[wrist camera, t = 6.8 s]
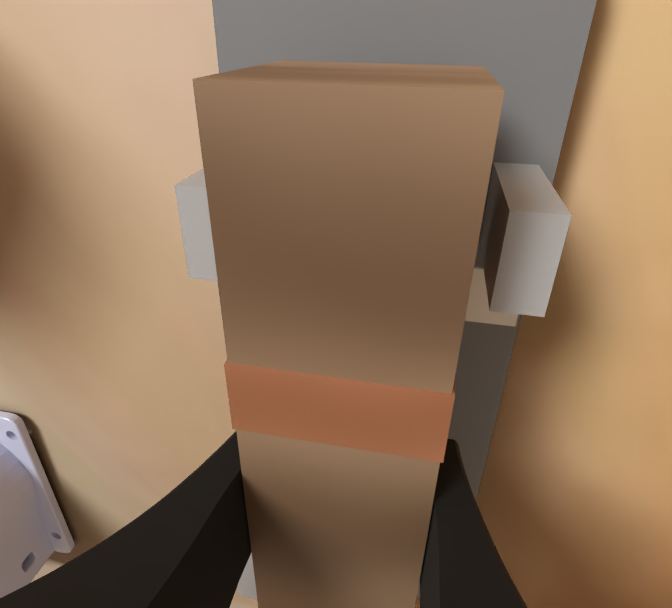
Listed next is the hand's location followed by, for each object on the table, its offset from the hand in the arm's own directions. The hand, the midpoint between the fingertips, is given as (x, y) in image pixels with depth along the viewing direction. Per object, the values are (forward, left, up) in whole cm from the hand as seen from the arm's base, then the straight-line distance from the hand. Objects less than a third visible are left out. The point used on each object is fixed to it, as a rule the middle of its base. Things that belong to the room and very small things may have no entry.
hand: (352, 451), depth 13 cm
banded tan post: (0, 0, -2) cm, 2 cm away
